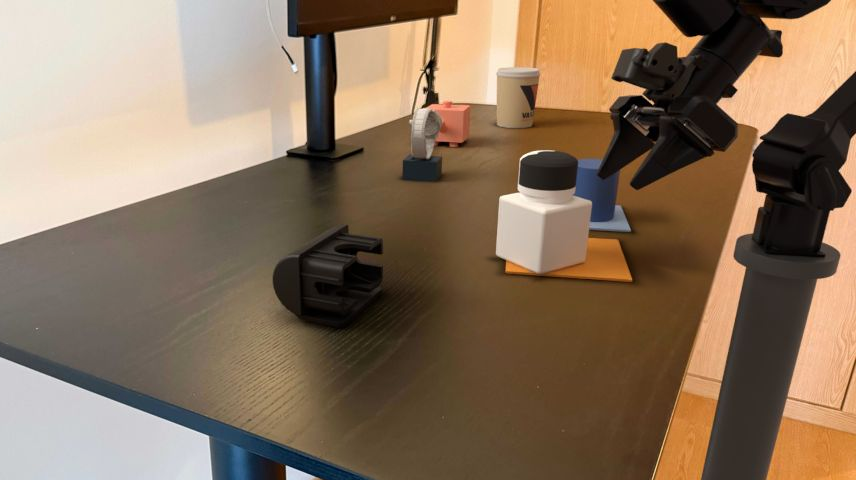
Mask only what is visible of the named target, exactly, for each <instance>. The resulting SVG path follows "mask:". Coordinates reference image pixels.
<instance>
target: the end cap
mask: <svg viewBox="0 0 856 480" xmlns="http://www.w3.org/2000/svg"><path fill="white" fill-rule="evenodd" d="M349 231H350V230H349V224H338V225H334V226H332V227H331V228H329V229H327V230H326V231H324V232H322V233H321V234H319V235H318V236H316V237H314V238H313V239H311V240H309V241H308V242H306V243H305V244H302V245H301V246H299V247H298V248H296V249H294V250H293V251H292V252H290V253H288V254H287V255H285V256H283V257H282V258H281V259H279V261H278V262H277V263H276V265H275V267H274V269H273V272H272V287H273V291H274V293H275V295H276V297H277V299H278V301H279V302H280V304H282V306H283V307H284V308H285V309H286V310H288V311H289V312H290V313H292V314H294V315H295V316H296V317H297V318H298V319H299V320H302V321H304V322H307V323H311V324H315V325H321V326H325V327H330V328H335V329H343V328H345V327H346V326H348V324H350V323H351V322H352V321H353V320H355V318H357V317H358V316H359V315H360V314H361V313H362V312H364V310H365V309H367V308H368V307H369V306H370V305H371V304H372V303H373V302H374V301H376V300H377V299H378V298H379V297H380V296H381V294H382V288H381V287H380V286H381V284H382V283H383V279H384V265H382V264H375V263H369V262H364V261H360V260H359V258H358V253H359V252H361V253H365V254H366V253H367V254H374V255H379V256H382V255H383V254H384V239H383V238H381V237H375V236H368V235H362V234H355V233H350V232H349Z"/></svg>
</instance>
